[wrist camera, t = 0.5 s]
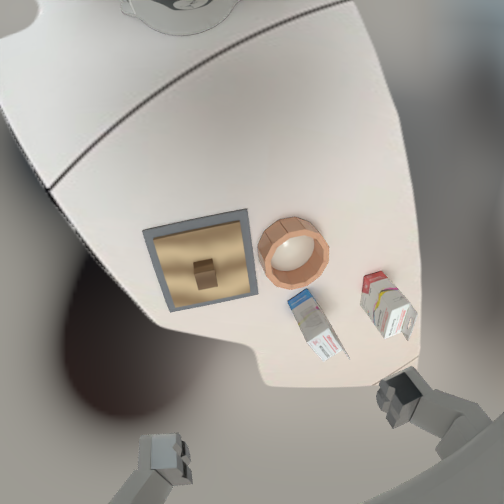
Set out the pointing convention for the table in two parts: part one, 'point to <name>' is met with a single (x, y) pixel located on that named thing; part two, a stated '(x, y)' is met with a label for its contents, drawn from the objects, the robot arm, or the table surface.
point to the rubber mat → (195, 224)
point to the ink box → (315, 326)
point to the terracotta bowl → (292, 253)
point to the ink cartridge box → (387, 306)
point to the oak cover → (204, 263)
